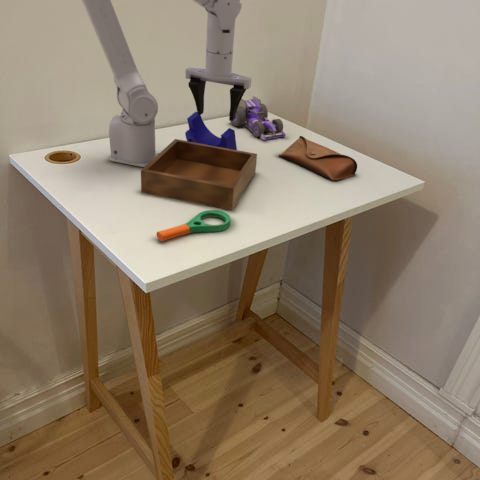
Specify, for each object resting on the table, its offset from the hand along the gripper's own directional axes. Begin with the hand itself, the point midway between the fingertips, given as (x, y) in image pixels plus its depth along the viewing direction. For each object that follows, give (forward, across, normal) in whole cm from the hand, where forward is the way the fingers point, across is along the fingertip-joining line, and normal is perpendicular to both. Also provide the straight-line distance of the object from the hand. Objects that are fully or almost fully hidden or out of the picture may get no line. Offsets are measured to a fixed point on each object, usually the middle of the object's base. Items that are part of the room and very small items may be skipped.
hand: (216, 116), depth 118 cm
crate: (+8, -3, +17) cm, 20 cm away
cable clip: (+8, +1, -1) cm, 8 cm away
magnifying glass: (+8, -9, +37) cm, 39 cm away
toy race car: (+8, -5, -20) cm, 23 cm away
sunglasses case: (+8, -24, -4) cm, 26 cm away
